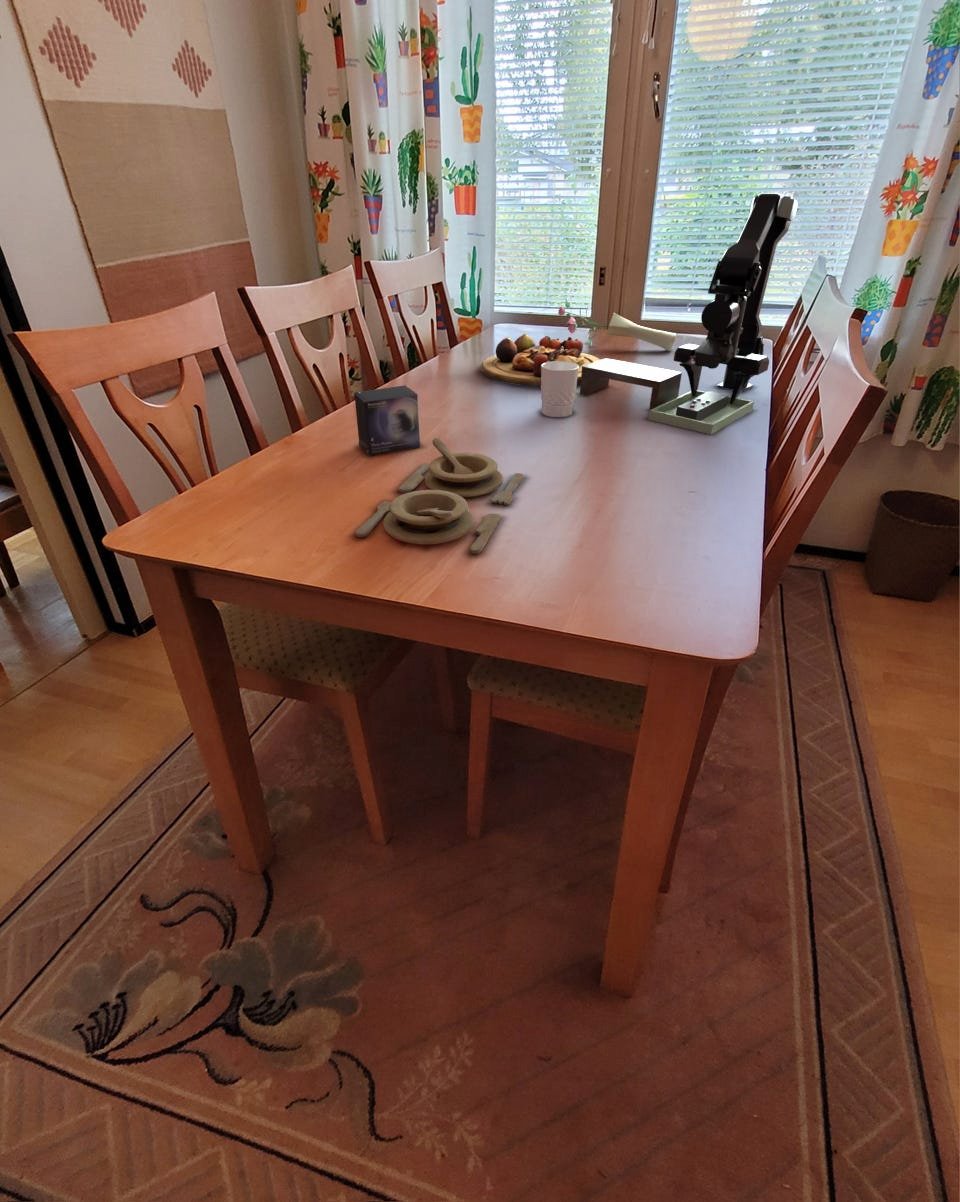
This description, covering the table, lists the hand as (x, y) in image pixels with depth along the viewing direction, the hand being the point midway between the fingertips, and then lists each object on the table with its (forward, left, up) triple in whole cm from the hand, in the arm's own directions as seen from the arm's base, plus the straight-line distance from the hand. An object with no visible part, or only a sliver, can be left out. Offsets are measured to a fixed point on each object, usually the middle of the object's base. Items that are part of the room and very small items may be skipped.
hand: (712, 399), depth 141 cm
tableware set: (+72, -10, -2) cm, 73 cm away
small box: (+61, -36, -2) cm, 72 cm away
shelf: (+4, -18, -2) cm, 19 cm away
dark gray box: (+4, 0, -2) cm, 5 cm away
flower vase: (-37, -48, -2) cm, 61 cm away
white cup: (+23, -24, -2) cm, 34 cm away
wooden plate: (-2, -47, -2) cm, 48 cm away
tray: (+4, 0, -2) cm, 5 cm away
